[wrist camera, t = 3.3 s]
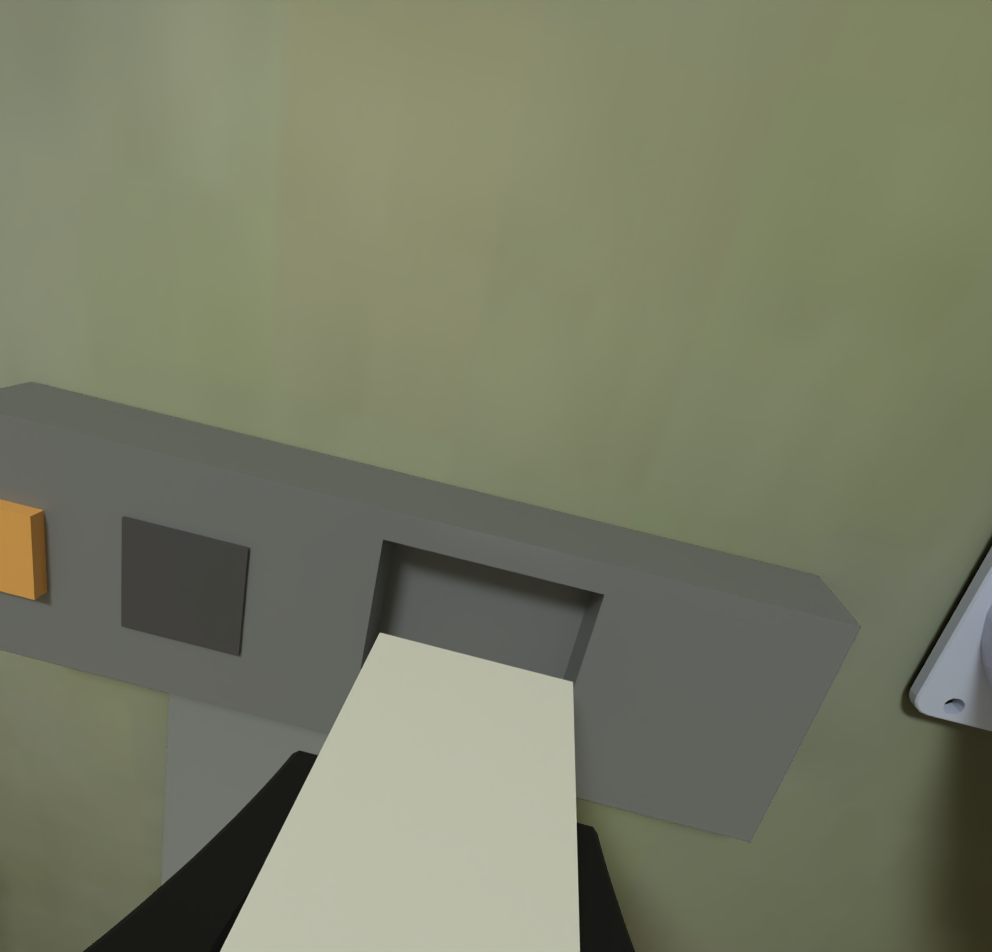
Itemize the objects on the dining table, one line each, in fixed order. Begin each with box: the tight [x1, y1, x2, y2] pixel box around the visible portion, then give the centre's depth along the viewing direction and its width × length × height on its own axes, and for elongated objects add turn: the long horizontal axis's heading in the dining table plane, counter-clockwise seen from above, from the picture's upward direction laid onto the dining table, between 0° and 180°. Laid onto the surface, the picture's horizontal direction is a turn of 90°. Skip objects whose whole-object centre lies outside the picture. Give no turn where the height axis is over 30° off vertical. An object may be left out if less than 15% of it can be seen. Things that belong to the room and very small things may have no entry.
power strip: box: [0, 382, 861, 842], centre depth 16 cm, size 31×7×3 cm, turn 77°
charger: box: [220, 633, 580, 952], centre depth 10 cm, size 4×4×7 cm
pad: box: [161, 693, 329, 886], centre depth 21 cm, size 10×10×1 cm
